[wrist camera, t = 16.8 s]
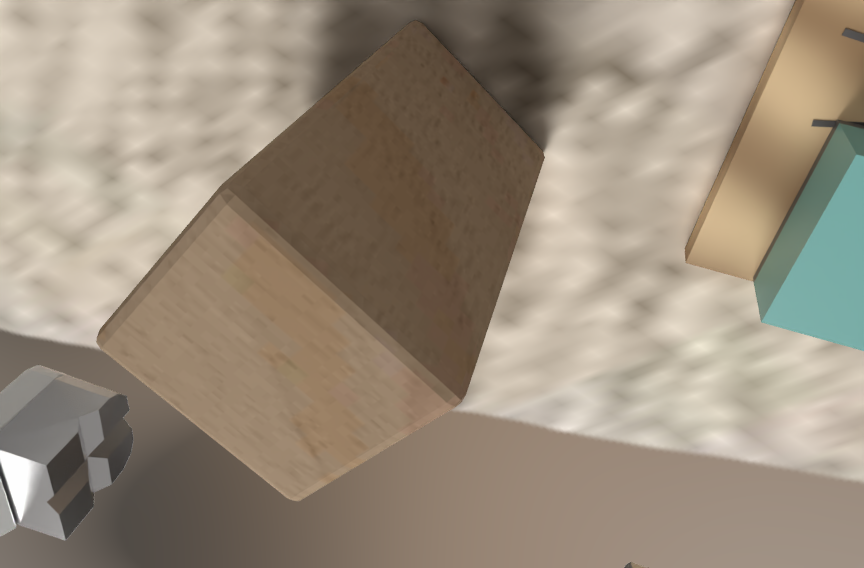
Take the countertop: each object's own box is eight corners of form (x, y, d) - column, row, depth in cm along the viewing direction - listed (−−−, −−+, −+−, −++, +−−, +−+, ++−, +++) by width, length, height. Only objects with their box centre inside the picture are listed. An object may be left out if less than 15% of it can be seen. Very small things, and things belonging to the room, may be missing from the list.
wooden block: (418, 13, 36) (221, 181, 20) (549, 153, 38) (468, 406, 22) (308, 136, 41) (85, 344, 25) (428, 252, 44) (293, 510, 28)
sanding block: (837, 119, 32) (856, 154, 29) (952, 147, 31) (985, 186, 28) (752, 277, 37) (761, 322, 34) (850, 304, 37) (867, 352, 33)
